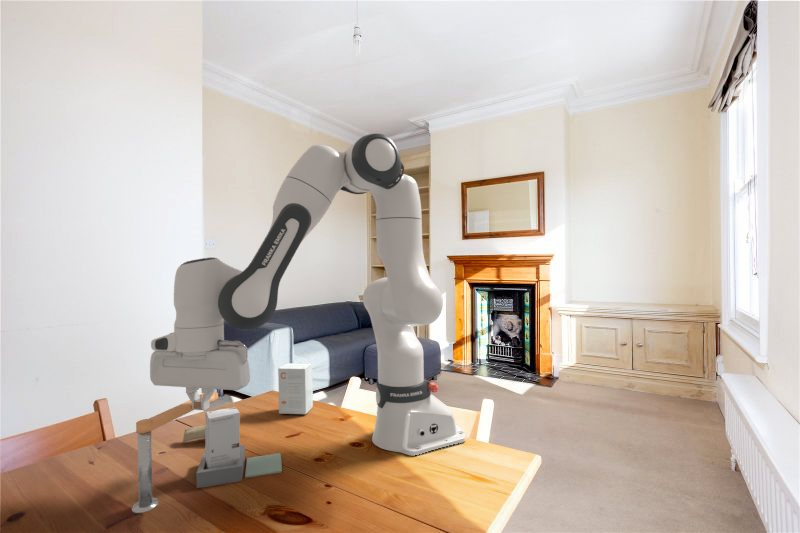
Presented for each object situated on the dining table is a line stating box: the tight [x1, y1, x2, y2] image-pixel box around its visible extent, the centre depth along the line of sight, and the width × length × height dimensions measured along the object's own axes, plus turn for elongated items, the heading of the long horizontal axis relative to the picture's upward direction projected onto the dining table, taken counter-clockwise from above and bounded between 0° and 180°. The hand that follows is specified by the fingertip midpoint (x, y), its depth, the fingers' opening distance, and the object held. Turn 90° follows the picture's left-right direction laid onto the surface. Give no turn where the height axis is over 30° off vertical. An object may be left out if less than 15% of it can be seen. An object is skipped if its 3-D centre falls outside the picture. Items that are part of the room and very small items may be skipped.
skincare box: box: [204, 406, 241, 469], centre depth 81 cm, size 6×4×12 cm
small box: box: [277, 362, 314, 415], centre depth 116 cm, size 8×6×13 cm
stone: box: [182, 423, 206, 443], centre depth 96 cm, size 11×6×5 cm, turn 117°
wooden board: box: [135, 391, 219, 435], centre depth 78 cm, size 19×4×2 cm, turn 166°
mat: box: [244, 452, 283, 479], centre depth 84 cm, size 7×8×1 cm
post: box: [131, 431, 160, 514], centre depth 70 cm, size 4×4×13 cm
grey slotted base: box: [195, 444, 246, 489], centre depth 81 cm, size 8×10×3 cm
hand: (200, 409), depth 79 cm, fingers closed
